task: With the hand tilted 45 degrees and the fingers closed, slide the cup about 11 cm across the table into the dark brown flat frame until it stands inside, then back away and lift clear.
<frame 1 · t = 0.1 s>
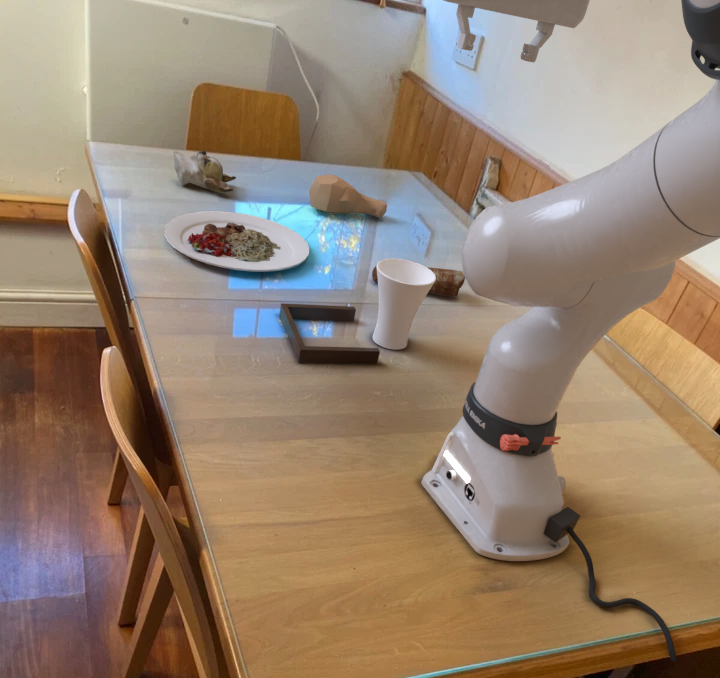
hand: (496, 55, 92), 48 cm above the table, tool pointing down, fingers open, 8 cm apart
plated food: (237, 248, 148), on the table
tan chicken drumstick: (344, 214, 177), on the table
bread: (414, 291, 148), on the table
dark brown flat frame: (329, 339, 124), on the table
cup: (389, 342, 128), on the table
ceramic sculpture: (203, 188, 172), on the table
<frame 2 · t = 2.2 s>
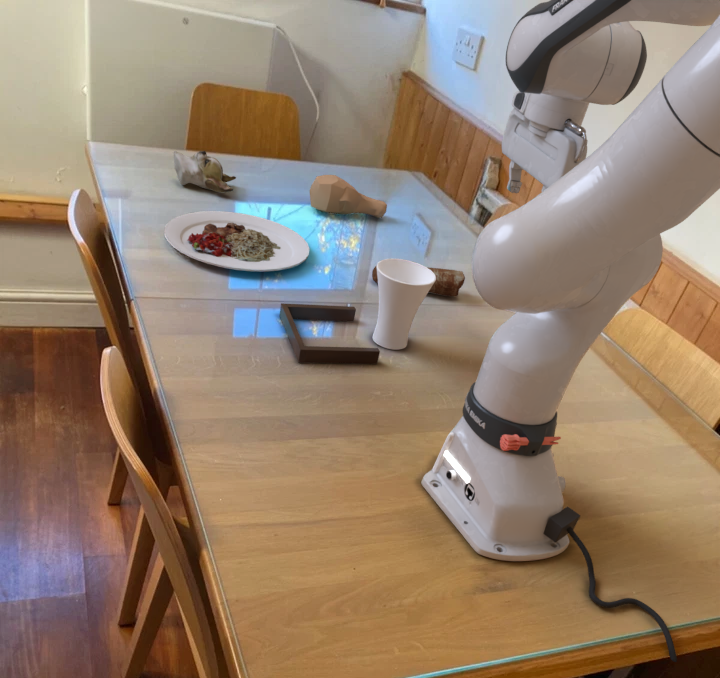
hand: (524, 202, 115), 28 cm above the table, tool pointing down, fingers open, 8 cm apart
nothing on the table moved.
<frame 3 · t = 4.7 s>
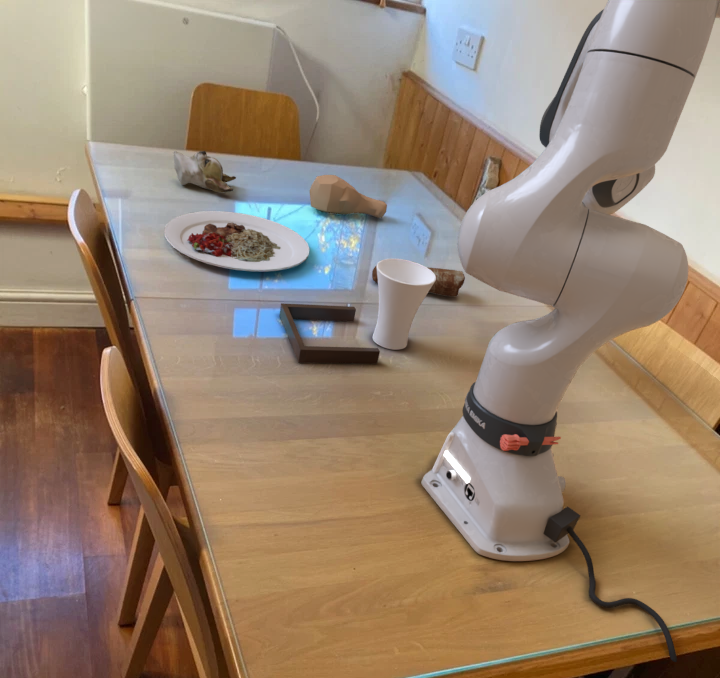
hand: (496, 268, 124), 15 cm above the table, tool tilted 45°, fingers closed
nothing on the table moved.
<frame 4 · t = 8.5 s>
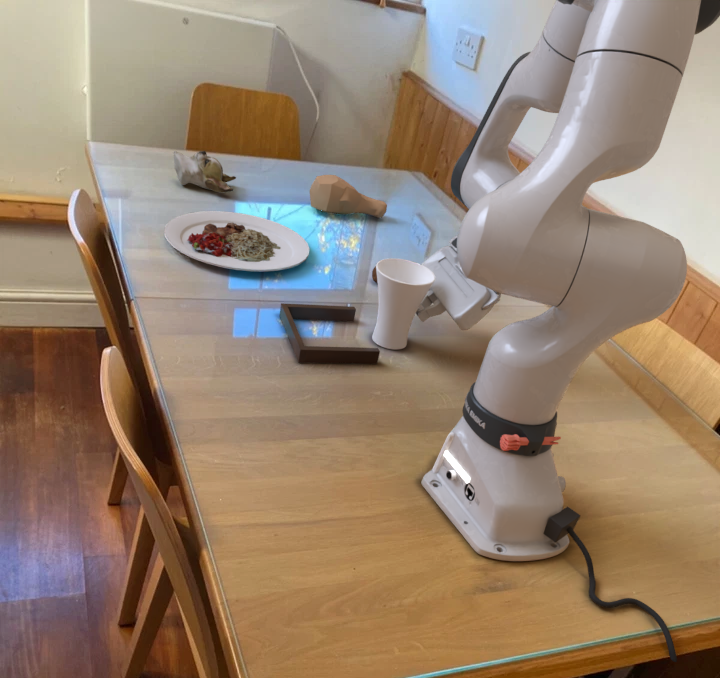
hand: (417, 315, 126), 5 cm above the table, tool tilted 45°, fingers closed, pressing on cup
cup: (389, 341, 128), on the table, touching gripper
everything else where it was.
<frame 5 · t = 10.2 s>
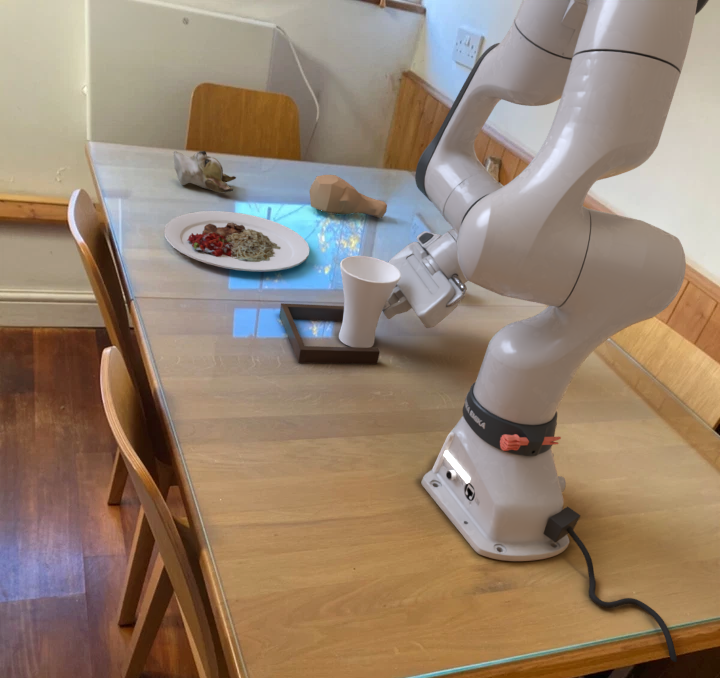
hand: (383, 312, 124), 5 cm above the table, tool tilted 45°, fingers closed, pressing on cup
cup: (356, 340, 126), on the table, touching gripper
everything else where it was.
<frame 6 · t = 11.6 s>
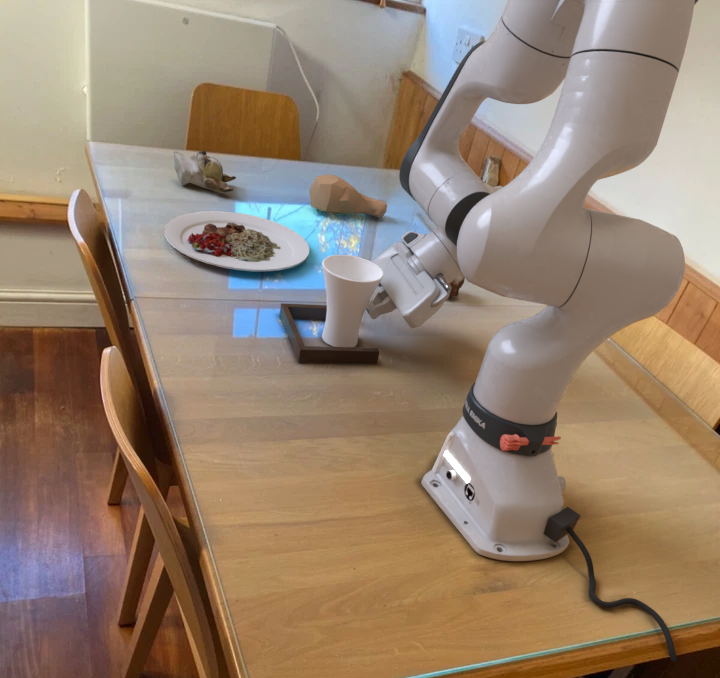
hand: (368, 313, 123), 5 cm above the table, tool tilted 45°, fingers closed
cup: (339, 340, 125), on the table
everything else where it was.
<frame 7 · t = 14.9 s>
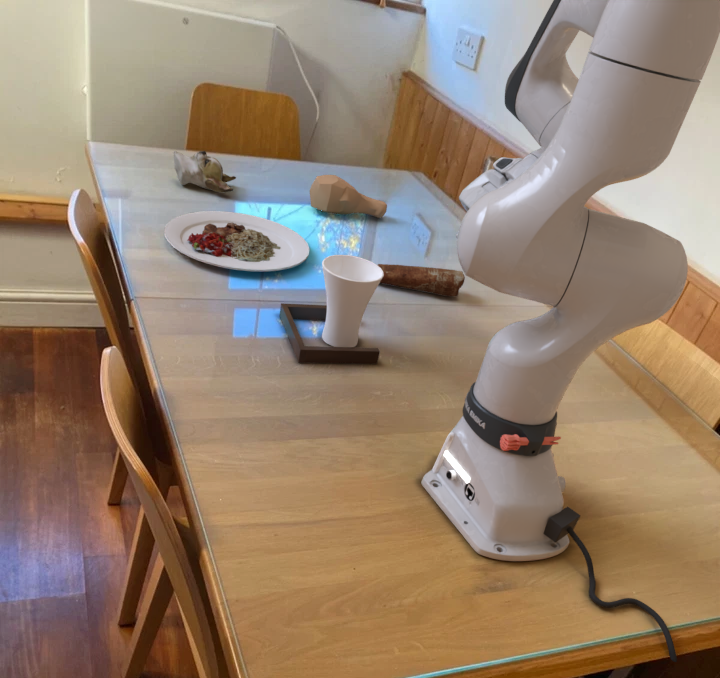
hand: (460, 242, 119), 19 cm above the table, tool tilted 45°, fingers closed
nothing on the table moved.
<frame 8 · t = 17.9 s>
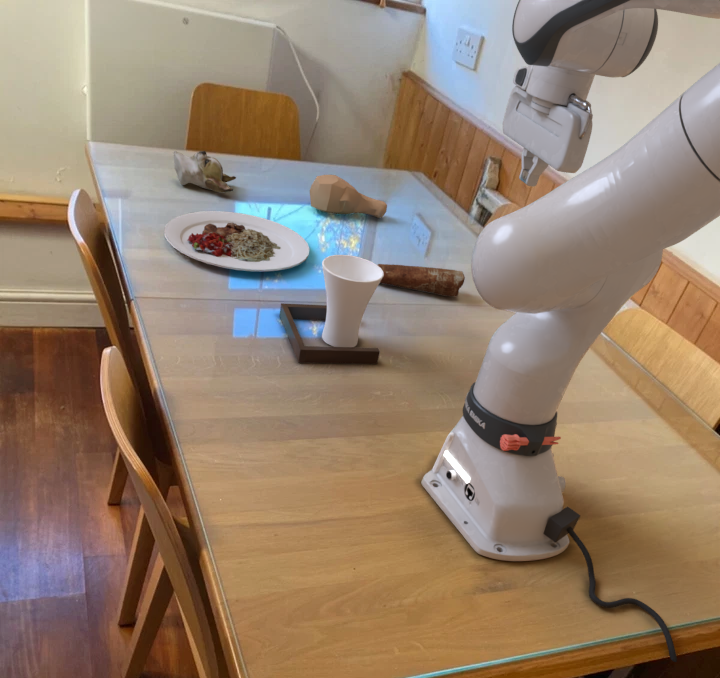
hand: (527, 183, 111), 31 cm above the table, tool pointing down, fingers closed
nothing on the table moved.
at the end: cup inside the target area (1.7 cm from its centre), on the table; cup tilted 0°; cup moved 9.6 cm from its start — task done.
